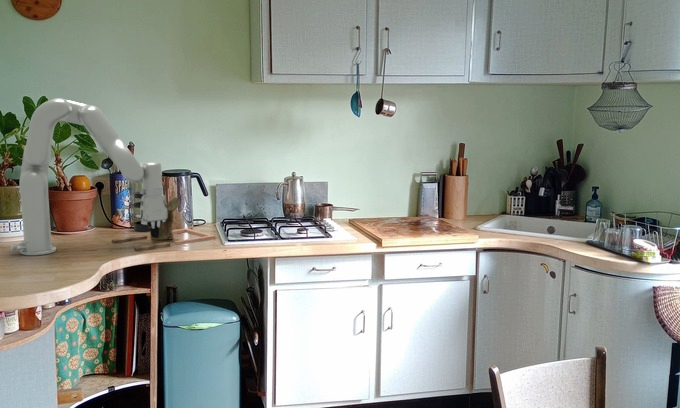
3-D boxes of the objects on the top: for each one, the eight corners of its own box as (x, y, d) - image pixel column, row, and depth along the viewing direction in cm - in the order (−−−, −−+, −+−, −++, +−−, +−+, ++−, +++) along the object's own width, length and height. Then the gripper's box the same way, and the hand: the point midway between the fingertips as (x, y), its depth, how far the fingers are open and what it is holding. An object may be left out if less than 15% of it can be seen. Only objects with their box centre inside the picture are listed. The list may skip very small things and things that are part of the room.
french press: (157, 227, 309) (155, 176, 306) (157, 231, 300) (154, 179, 297) (130, 228, 307) (128, 177, 303) (129, 232, 298) (126, 180, 294)
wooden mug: (164, 242, 274) (167, 197, 273) (146, 237, 283) (148, 194, 282) (183, 241, 281) (185, 197, 280) (164, 236, 290) (167, 194, 289)
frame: (177, 245, 274) (177, 242, 274) (150, 236, 289) (150, 233, 289) (215, 238, 286) (215, 235, 286) (187, 230, 302) (187, 228, 301)
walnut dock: (137, 251, 262) (137, 248, 262) (111, 242, 278) (111, 239, 278) (170, 246, 272) (170, 243, 271) (143, 237, 287) (143, 234, 287)
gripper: (139, 195, 267) (142, 241, 270) (174, 191, 277) (175, 235, 280) (131, 193, 273) (133, 238, 276) (164, 189, 283) (166, 233, 286)
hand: (154, 237), depth 278 cm, fingers closed
